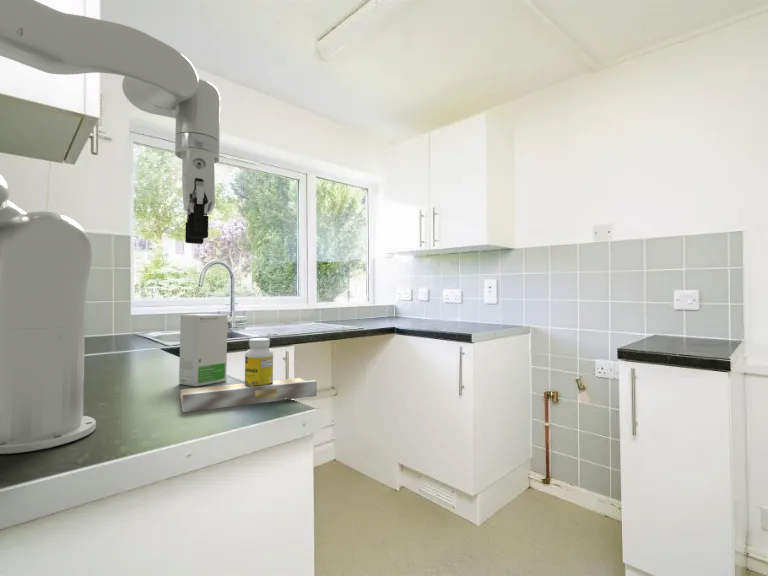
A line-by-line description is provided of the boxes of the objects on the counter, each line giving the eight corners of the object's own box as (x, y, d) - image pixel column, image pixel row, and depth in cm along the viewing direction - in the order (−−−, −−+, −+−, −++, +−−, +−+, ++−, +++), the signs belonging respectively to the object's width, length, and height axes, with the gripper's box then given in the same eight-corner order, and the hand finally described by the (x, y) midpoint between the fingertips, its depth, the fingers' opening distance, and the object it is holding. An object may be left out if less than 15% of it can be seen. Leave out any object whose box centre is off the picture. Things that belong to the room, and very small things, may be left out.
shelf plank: (182, 412, 68) (183, 395, 68) (180, 397, 78) (180, 381, 78) (317, 396, 79) (317, 381, 79) (300, 384, 89) (300, 371, 89)
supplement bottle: (239, 387, 80) (240, 338, 80) (262, 383, 84) (263, 336, 84) (254, 392, 76) (255, 341, 76) (278, 387, 80) (279, 339, 80)
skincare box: (195, 387, 85) (196, 315, 85) (176, 384, 89) (178, 314, 89) (228, 380, 93) (229, 313, 93) (209, 377, 96) (210, 312, 96)
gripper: (225, 138, 69) (223, 236, 69) (214, 165, 84) (212, 246, 84) (176, 129, 65) (174, 233, 65) (174, 159, 81) (172, 244, 80)
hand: (196, 240), depth 75 cm, fingers open, 9 cm apart
